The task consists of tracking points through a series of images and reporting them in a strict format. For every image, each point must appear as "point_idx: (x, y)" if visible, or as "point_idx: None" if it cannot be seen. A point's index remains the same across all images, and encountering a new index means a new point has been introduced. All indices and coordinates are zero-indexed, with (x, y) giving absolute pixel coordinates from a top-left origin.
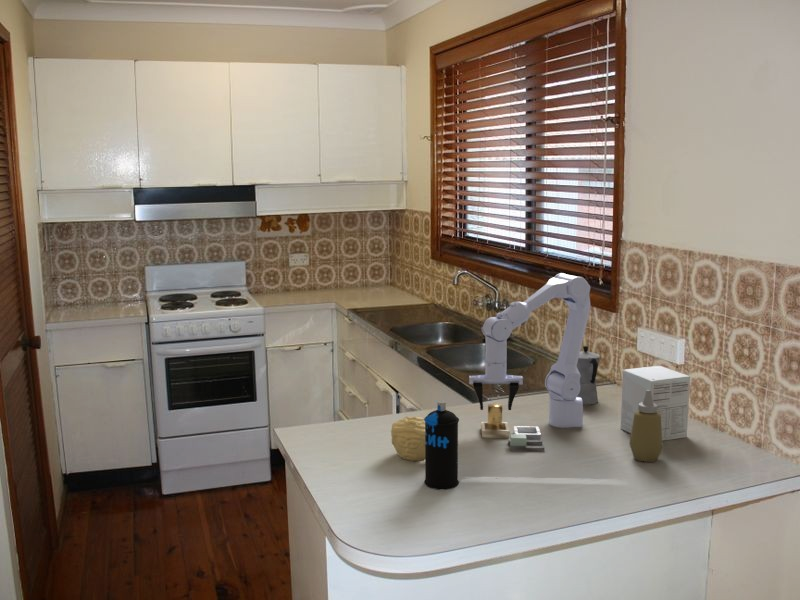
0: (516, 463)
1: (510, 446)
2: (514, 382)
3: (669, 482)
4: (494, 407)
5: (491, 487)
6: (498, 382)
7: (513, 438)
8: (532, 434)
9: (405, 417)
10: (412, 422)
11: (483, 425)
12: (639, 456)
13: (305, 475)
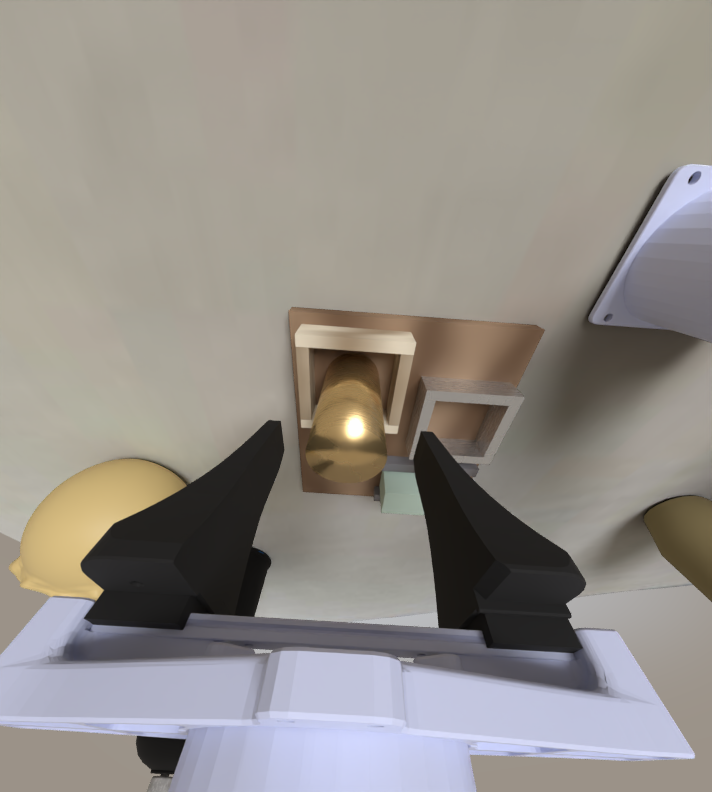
0: (378, 515)
1: (377, 496)
2: (520, 659)
3: (606, 570)
4: (339, 479)
5: (322, 568)
6: (361, 648)
7: (387, 511)
8: (462, 462)
9: (23, 587)
10: None
11: (305, 380)
12: (650, 533)
13: (3, 533)
